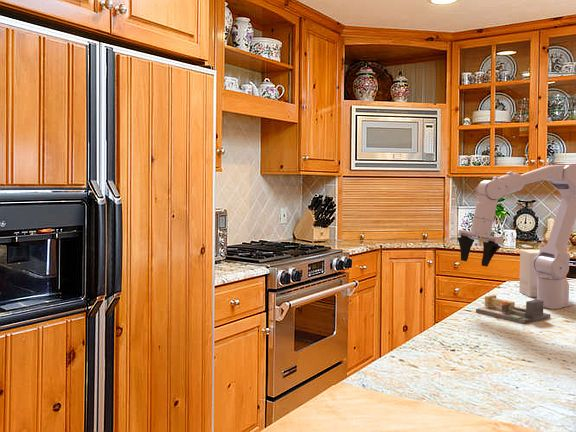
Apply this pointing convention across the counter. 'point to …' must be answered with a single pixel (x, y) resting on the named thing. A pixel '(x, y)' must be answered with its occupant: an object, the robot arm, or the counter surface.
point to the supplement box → (528, 273)
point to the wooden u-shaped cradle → (497, 302)
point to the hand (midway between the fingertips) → (473, 263)
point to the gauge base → (518, 312)
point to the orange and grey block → (505, 307)
